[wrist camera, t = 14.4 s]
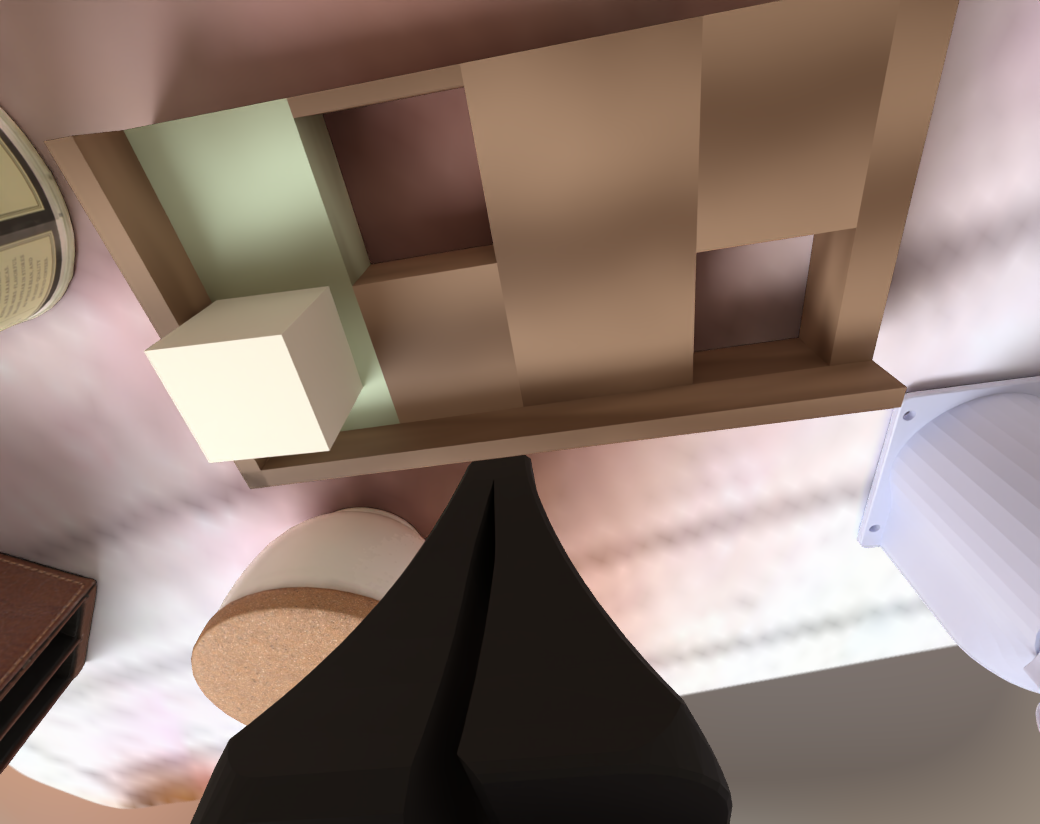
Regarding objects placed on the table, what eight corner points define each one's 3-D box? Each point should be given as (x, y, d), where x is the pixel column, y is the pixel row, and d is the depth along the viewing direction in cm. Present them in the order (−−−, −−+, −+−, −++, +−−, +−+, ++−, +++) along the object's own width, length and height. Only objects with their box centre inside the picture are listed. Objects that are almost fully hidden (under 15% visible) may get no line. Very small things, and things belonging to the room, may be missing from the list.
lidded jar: (300, 440, 24) (190, 615, 16) (501, 520, 27) (493, 703, 19) (248, 572, 29) (146, 754, 21) (422, 628, 32) (389, 807, 24)
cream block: (363, 387, 19) (329, 450, 16) (263, 398, 20) (209, 463, 16) (328, 285, 17) (281, 334, 14) (216, 299, 17) (143, 351, 14)
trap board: (833, 349, 21) (901, 407, 17) (294, 423, 23) (250, 489, 19) (904, -20, 15) (1036, -56, 11) (151, 129, 17) (43, 141, 13)
